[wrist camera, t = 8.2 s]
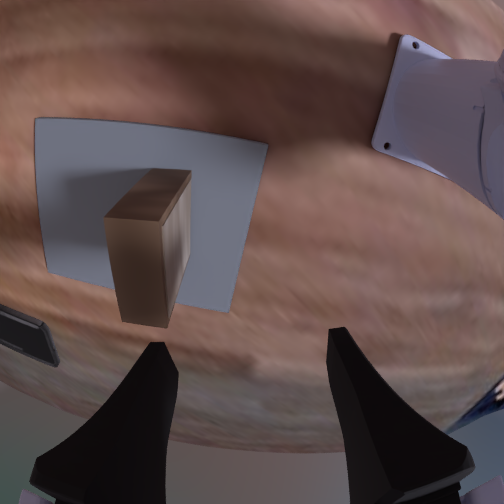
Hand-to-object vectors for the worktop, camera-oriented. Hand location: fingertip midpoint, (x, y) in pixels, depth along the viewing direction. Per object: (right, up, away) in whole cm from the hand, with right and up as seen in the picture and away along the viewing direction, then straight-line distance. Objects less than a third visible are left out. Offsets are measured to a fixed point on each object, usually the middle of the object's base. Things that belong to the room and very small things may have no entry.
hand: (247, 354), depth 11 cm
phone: (-29, -5, +16) cm, 34 cm away
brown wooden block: (-5, +6, +8) cm, 11 cm away
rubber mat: (-8, +6, +8) cm, 13 cm away
